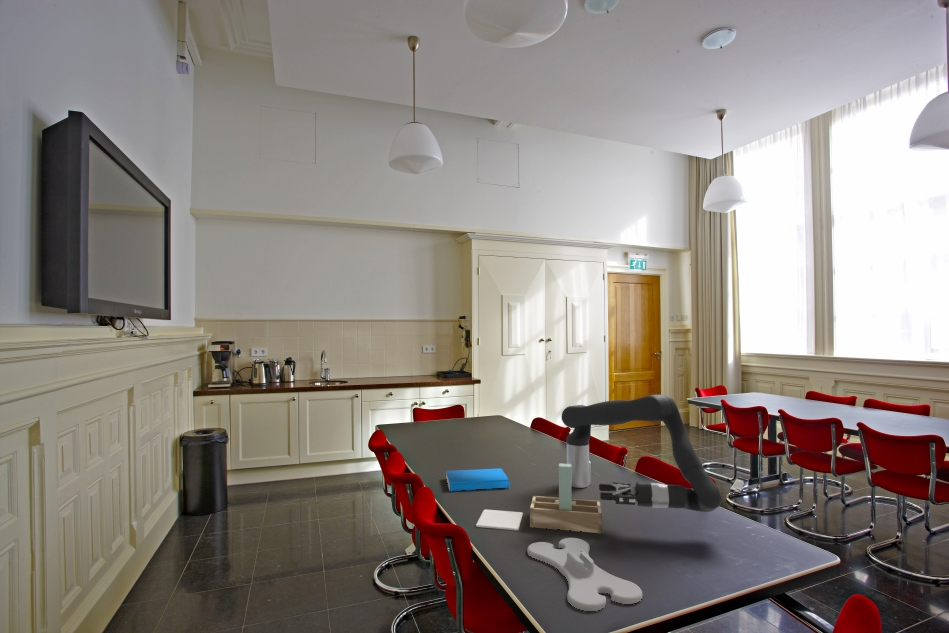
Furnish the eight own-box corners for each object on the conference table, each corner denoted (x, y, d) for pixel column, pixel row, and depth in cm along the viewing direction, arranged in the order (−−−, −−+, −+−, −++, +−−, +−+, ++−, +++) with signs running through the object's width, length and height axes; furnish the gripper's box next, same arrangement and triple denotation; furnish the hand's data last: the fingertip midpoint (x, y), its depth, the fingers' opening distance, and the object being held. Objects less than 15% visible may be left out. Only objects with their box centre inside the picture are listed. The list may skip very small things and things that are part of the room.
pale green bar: (559, 523, 157) (559, 463, 158) (571, 524, 156) (571, 464, 157) (559, 527, 153) (558, 466, 154) (571, 528, 153) (571, 466, 153)
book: (445, 470, 205) (501, 467, 209) (445, 480, 205) (501, 477, 209) (449, 483, 188) (509, 479, 192) (449, 493, 188) (510, 489, 192)
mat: (484, 511, 168) (484, 509, 168) (522, 514, 165) (522, 512, 165) (476, 526, 154) (476, 525, 154) (518, 530, 151) (518, 528, 151)
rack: (533, 512, 166) (533, 495, 166) (599, 518, 161) (599, 500, 161) (529, 527, 154) (529, 508, 154) (601, 533, 149) (601, 514, 149)
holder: (578, 616, 106) (578, 594, 106) (522, 550, 139) (522, 533, 139) (650, 603, 111) (650, 582, 111) (580, 541, 144) (579, 525, 144)
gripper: (648, 476, 156) (598, 473, 160) (655, 490, 142) (600, 486, 146) (648, 499, 156) (598, 495, 160) (655, 515, 142) (600, 511, 146)
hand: (599, 491), depth 153 cm, fingers open, 8 cm apart
